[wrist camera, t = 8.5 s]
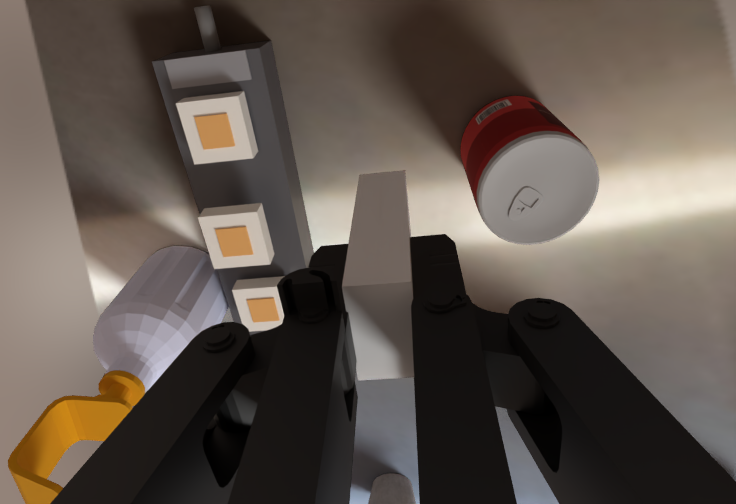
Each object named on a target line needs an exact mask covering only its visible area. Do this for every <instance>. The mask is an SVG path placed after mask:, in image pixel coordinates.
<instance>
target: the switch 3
mask: <svg viewBox="0 0 736 504" xmlns="http://www.w3.org/2000/svg"><path fill="white" fill-rule="evenodd" d="M283 277H285V276H281V277H268V278H256V279H244V280H237V281H236V283H235V285H234V287H233V289H232V292H233V295H234V299H235V302H236V305H237V308H238V312H239V315H240V318H241V321H242V324H243V325H244V326H246V327H247V328H248V329H249V332H251V331H265V330H270V329H272V328H275V327H277V326H279V325H281V324H282V322H283V319H284V312H283V308H282V305H281V301H280V297H279V293H278V289H277V284H278V283H279V281H280V280H281V279H282V278H283Z"/></svg>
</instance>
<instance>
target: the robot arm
mask: <svg viewBox="0 0 736 504" xmlns="http://www.w3.org/2000/svg"><path fill="white" fill-rule="evenodd" d="M308 267H309V268H303V269H299V270H296V271H294V272H291V273H289V274H288V275H286V276H285V277H283V278H282V279H281V280H280V281H279V283H278V284H277V289H278V293H279V297H280V301H281V305H282V308H283V312H284V319H283V322H282V324H281V325H279V326H277V327H275V328H272V329H270V330H267V331H263V332H260V333H256V334H253V335H250V333H249V329H248V328H247V327H246V326H244V325H243V324H240V323H236V322H225V323H220V324H216V325H213V326H211V327H209V328H207V329H205V330H203V331H201V332H200V333H199V334H198V335H196V336H195V337H194V338H193V339H192V340H191V341H190V343H189V344H188V345H187V346H186V347H185V348H184V350H183V351H182V352H181V353H180V354H179V355H178V356H177V358H176V359H175V360H174V361H173V362H172V363H171V365H170V366H169V367H168V368H167V369H166V370H165V372H164V373H163V374H162V375H161V376H160V377H159V378H158V380H157V381H156V382H155V383H154V384H153V385H152V387H151V388H150V389H149V390H148V391H147V392H146V393H145V395H144V396H143V397H142V398H141V399H140V400H139V402H138V403H137V404H136V405H135V406H134V407H133V408H132V410H131V411H130V412H129V413H128V414H127V415H126V417H125V418H124V419H123V420H122V421H121V422H120V423H119V425H118V426H117V427H116V428H115V429H114V430H113V432H112V433H111V434H110V435H109V436H108V437H107V439H106V440H105V441H104V442H103V443H102V444H101V445H100V447H99V448H98V449H97V450H96V451H95V453H94V454H93V455H92V456H91V457H90V458H89V459H88V460H87V462H86V463H85V464H84V465H83V466H82V467H81V469H80V470H79V471H78V472H77V473H76V474H75V475H74V477H73V478H72V479H71V480H70V481H69V482H68V484H67V485H66V486H65V487H64V488H63V489H62V490H61V492H60V493H59V494H58V495H57V496H56V497H55V499H54V500H53V501H52V502H51V503H50V504H349V501H350V488H351V475H352V462H353V450H354V437H355V424H356V411H357V399H358V396H357V391H356V385H355V373H356V370H357V376H358V380H375V379H392V378H409V377H414V385H415V407H416V429H417V451H418V473H419V495H420V504H517V503H516V498H515V494H514V489H513V485H512V480H511V476H510V471H509V467H508V462H507V458H506V453H505V449H504V444H503V440H502V436H501V431H500V427H499V422H498V418H497V413H496V409H495V406H497V407H501V408H506V409H507V412H508V415H509V417H510V419H511V421H512V423H513V424H514V426H515V428H516V429H517V431H518V433H519V435H520V436H521V438H522V440H523V442H524V443H525V445H526V447H527V448H528V450H529V452H530V454H531V455H532V457H533V459H534V461H535V462H536V464H537V466H538V468H539V469H540V471H541V473H542V474H543V476H544V478H545V480H546V481H547V483H548V485H549V487H550V488H551V490H552V492H553V493H554V495H555V497H556V499H557V500H558V502H559V504H736V482H735V480H734V479H733V478H732V477H731V476H730V475H729V474H728V473H727V472H726V471H725V470H724V469H723V468H722V467H721V466H720V465H719V464H718V463H717V462H716V461H715V459H714V458H713V457H712V456H711V455H710V454H709V453H708V452H707V451H706V450H705V449H704V448H703V447H702V446H701V445H700V444H699V443H698V442H697V441H696V440H695V439H694V437H693V436H692V435H691V434H690V433H689V432H688V431H687V430H686V429H685V428H684V427H683V426H682V425H681V424H680V423H679V422H678V421H677V420H676V419H675V418H674V417H673V415H672V414H671V413H670V412H669V411H668V410H667V409H666V408H665V407H664V406H663V405H662V404H661V403H660V402H659V401H658V400H657V399H656V398H655V397H654V396H653V395H652V393H651V392H650V391H649V390H648V389H647V388H646V387H645V386H644V385H643V384H642V383H641V382H640V381H639V380H638V379H637V378H636V377H635V376H634V375H633V374H632V373H631V371H630V370H629V369H628V368H627V367H626V366H625V365H624V364H623V363H622V362H621V361H620V360H619V359H618V358H617V357H616V356H615V355H614V354H613V353H612V352H611V351H610V349H609V348H608V347H607V346H606V345H605V344H604V343H603V342H602V341H601V340H600V339H599V338H598V337H597V336H596V335H595V334H594V333H593V332H592V331H591V330H590V328H589V327H588V326H587V325H586V324H585V323H584V322H583V321H582V320H581V319H580V318H579V317H578V316H577V315H576V314H575V313H574V312H573V311H572V310H571V309H570V308H568V307H567V306H566V305H564V304H562V303H560V302H557V301H554V300H551V299H542V298H534V299H526V300H523V301H521V302H518V303H516V304H515V305H514V306H513V307H512V308H510V311H509V314H503V313H496V312H491V311H487V310H484V309H482V308H479V307H478V306H476V305H474V304H473V303H472V302H471V300H470V298H469V297H468V295H467V294H466V291H465V286H464V282H463V277H462V273H461V268H460V263H459V259H458V255H457V250H456V245H455V242H454V241H453V240H451V239H450V238H449V237H448V236H447V235H446V234H442V235H430V236H419V237H411V229H410V218H409V207H408V196H407V184H406V173H405V170H403V171H393V172H383V173H373V174H363V175H359V181H358V188H357V194H356V200H355V207H354V213H353V219H352V226H351V232H350V238H349V244H341V245H329V246H321V247H320V248H319V249H318V250H317V251H316V252H315V253H314V254H313V255H312V256H311V259H310V263H309V266H308Z"/></svg>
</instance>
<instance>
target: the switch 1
mask: <svg viewBox="0 0 736 504" xmlns="http://www.w3.org/2000/svg"><path fill="white" fill-rule="evenodd" d="M176 106H177V109H178V113H179V116H180V119H181V122H182V126H183V129H184V132H185V135H186V139H187V142H188V145H189V149H190V152H191V155H192V158H193V162H194V165H195V164H204V163H214V162H223V161H233V160H242V159H252V158H254V157H255V155H256V154H257V152H258V148H257V144H256V140H255V135H254V131H253V127H252V123H251V119H250V114H249V110H248V106H247V102H246V97H245V93H244V91H239V92H230V93H222V94H213V95H205V96H197V97H188V98H183V99H181V100H180V101H178V102H177V103H176Z"/></svg>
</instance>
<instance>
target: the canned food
mask: <svg viewBox="0 0 736 504" xmlns="http://www.w3.org/2000/svg"><path fill="white" fill-rule="evenodd" d="M461 158H462V162H463V166H464V169H465V172H466V175H467V178H468V181H469V184H470V187H471V190H472V193H473V196H474V200H475V203H476V206H477V208H478V211H479V213H480V215H481V217H482V219H483V221H484V222H485V224H486V225H487V227H488V228H489V229H490V230H491V231H492V232H493V233H494V234H496V235H497V236H498V237H500V238H502V239H504V240H506V241H508V242H512V243H516V244H524V245H532V244H541V243H544V242H548V241H551V240H554V239H556V238H558V237H560V236H562V235H564V234H565V233H567V232H569V231H570V230H572V229H573V228H574V227H575V226H576V225H577V224H578V223H580V222H581V221H582V219H583V218H584V217H585V216H586V214H587V213H588V212H589V210H590V208H591V207H592V205H593V203H594V201H595V198H596V195H597V192H598V187H599V172H598V167H597V164H596V161H595V159H594V157H593V155H592V154H591V152H590V151H589V149H588V148H587V147H586V146H585V145H584V144H583V143H582V141H581V140H580V139H579V138H578V137H577V136H575V135H574V134H573V133H572V132H571V131H570V130H569V129H568V128H567V127H566V126H565V125H564V124H563V123H562V122H561V121H560V120H558V119H557V118H556V117H555V116H554V115H553V114H552V113H551V112H550V111H549V110H548V109H547V108H546V107H545V106H543V105H542V104H541V103H540V102H538V101H536V100H534V99H532V98H528V97H524V96H509V97H503V98H501V99H498V100H495V101H493V102H491V103H489V104H487V105H485V106H484V107H483V108H482V109H481V110H479V111H478V112H477V113H476V114H475V116H474V117H473V118H472V119H471V120H470V122H469V124H468V125H467V127H466V129H465V132H464V134H463V137H462V142H461Z"/></svg>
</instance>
